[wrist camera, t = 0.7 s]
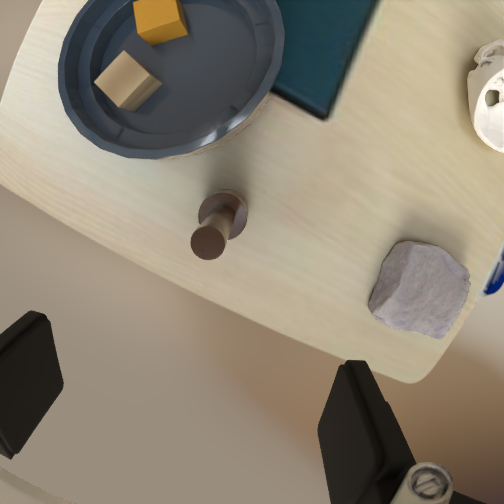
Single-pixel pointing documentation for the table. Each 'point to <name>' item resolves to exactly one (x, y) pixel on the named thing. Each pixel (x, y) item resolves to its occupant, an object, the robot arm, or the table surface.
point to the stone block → (420, 289)
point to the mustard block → (159, 20)
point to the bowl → (173, 75)
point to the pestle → (218, 223)
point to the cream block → (127, 82)
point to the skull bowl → (478, 83)
